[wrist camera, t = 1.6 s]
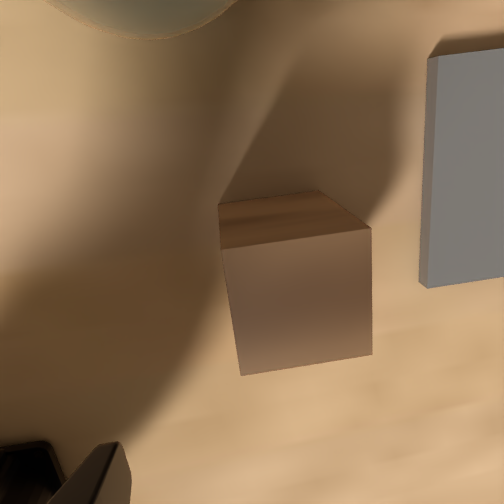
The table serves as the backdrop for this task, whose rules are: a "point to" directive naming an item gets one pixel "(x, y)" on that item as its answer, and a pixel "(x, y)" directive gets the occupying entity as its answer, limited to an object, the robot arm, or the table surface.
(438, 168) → the coaster
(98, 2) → the cup
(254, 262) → the walnut block
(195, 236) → the table surface
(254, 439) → the table surface
